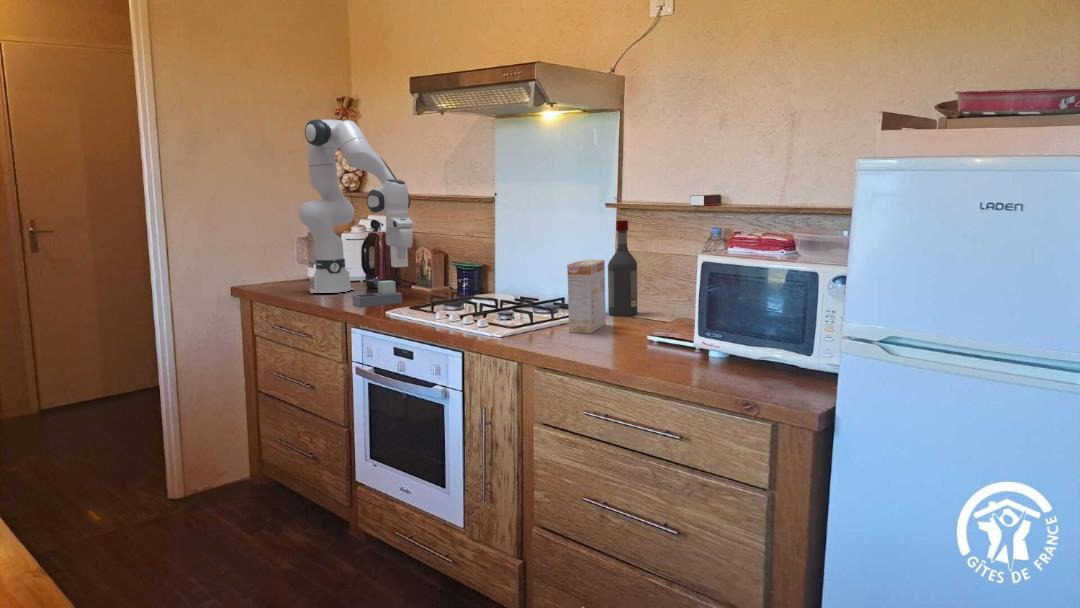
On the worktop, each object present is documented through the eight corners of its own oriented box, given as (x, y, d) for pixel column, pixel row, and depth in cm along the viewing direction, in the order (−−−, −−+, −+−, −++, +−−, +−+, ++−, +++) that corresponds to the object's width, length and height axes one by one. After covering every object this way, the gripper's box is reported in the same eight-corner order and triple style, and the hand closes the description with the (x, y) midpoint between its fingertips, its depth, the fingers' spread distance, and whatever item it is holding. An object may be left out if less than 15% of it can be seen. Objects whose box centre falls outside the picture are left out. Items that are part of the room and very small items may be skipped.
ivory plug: (391, 266, 293) (390, 245, 292) (403, 265, 295) (402, 245, 294) (395, 267, 289) (394, 246, 287) (408, 266, 291) (407, 245, 290)
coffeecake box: (584, 323, 227) (582, 259, 225) (606, 324, 225) (605, 259, 222) (567, 332, 214) (566, 263, 211) (591, 333, 211) (590, 264, 208)
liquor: (608, 316, 240) (606, 221, 236) (609, 311, 249) (608, 220, 245) (637, 316, 239) (636, 220, 235) (637, 311, 248) (636, 219, 244)
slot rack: (353, 306, 278) (352, 295, 278) (394, 301, 286) (394, 291, 286) (360, 308, 271) (359, 297, 270) (402, 304, 279) (402, 293, 278)
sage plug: (378, 302, 281) (377, 281, 280) (391, 301, 284) (390, 280, 283) (383, 304, 277) (382, 282, 276) (396, 303, 280) (395, 281, 278)
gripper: (380, 221, 297) (382, 256, 299) (399, 223, 279) (400, 260, 281) (396, 221, 300) (397, 256, 302) (415, 222, 283) (416, 259, 285)
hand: (399, 258), depth 292 cm, fingers closed on ivory plug, 5 cm apart
